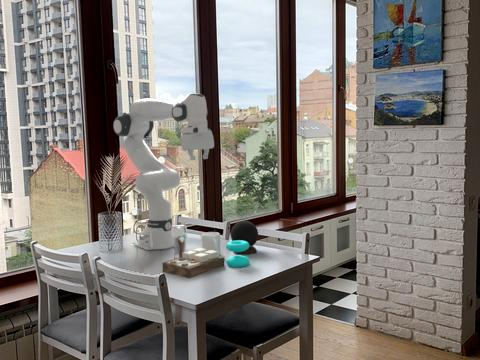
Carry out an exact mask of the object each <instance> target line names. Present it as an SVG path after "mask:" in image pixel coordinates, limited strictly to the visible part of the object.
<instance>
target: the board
mask: <svg viewBox="0 0 480 360" xmlns="http://www.w3.org/2000/svg"><path fill="white" fill-rule="evenodd" d="M161 263H162V273H166V274H171V275H174V276H179V277H182V278H187V279H192V278H195V277H198V276H199V275H203V274H206V273H209V272H211V271H214V270H218V269H220V268H223V267H225V265H226V264H225V256H222V255H219V256H218V258H214V259H209V260H208V261H205V262H202V263H200V262H197V261H194V259H192V260H186V259H184V258H182V257H179V258H176V259H174V258H173V259H170V260H166V261H163V262H161Z"/></svg>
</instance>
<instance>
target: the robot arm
mask: <svg viewBox="0 0 480 360" xmlns="http://www.w3.org/2000/svg"><path fill="white" fill-rule="evenodd" d="M208 113H209V111H208V107H207V100H206V97H205V95H204V94H201V93H199V92H198V93H194V92H191V93H187V95H186V97H185V98H183V99H182V100H180V101H177V102H175V103H170V102H166V101H162V100H159V99H154V98H141V99H138V100H134V101H133V102H132V103H131V105H130V111H129V112H128V113H127V112H123V113H122V114H121V115H118V116H117V117H115V119H114V120H113V124H112V126H113V127H112V128H113V131H114V133H115V134H116V135H117V136H119V137H126V138H125V139H123V140H124V141H123V147H124V150H125V152H126V154H127V155H128V158H129V159H130V160H131V162H132V164H133V165H134V167H135V168H136V170H137V171H139V172H141V173H140V174H138V175H136V177H135V182H134V185H135V188H136V190H137V191H138V192H139V193H141V194H142V195H143V197H144V199H145V201H146V203H147V204H146V205H147V209H148V219H146V220H145V223H147V225H146V227H145V228H144V229H143V230H142V231H141V232H140V233H138V234H139V236H138V241H137V242H135V243H134V246H135V247H138V248H142V249H144V250H146V251H150V250H151V251H152V250H166V249H171V248H174V246H173V241H172V226H173V218H172V210H171V203H170V201H169V200H167V199H166V198H165V197H164V195H163V192H167V191H172V190H173V189H176V188H178V187H179V186H180V183H181V177H180V174H179V172H178V171H177V170H175V169H172V168H171V167H168V166H167V165H165V164H164V163H163V162H161V161H160V160H159V159H158V158H157V157H156V156H155V154H154V153H153V152H152V150H151V149H150V148H149V146H148V144H146V142H145V140H144V139H147V138H149V137H150V134H151V133H152V132H153V129H154V127H155V123H154V122H157V121H158V122H159V121H162V120H168V119H173V120H174V121H175V122H177V123H187V125H186V126H184V127H182V128H181V129H180V134H181V137H180V143H181V144H180V145H181V149H182V151H187V154H188V156H189V161H196V156H195V155H194V152H195V151H197V150H199V151H200V150H203V154H202V159H203V160H206V159H207V160H208V158H209V153H210V149H214V148H215V140H214V135H213V131H212V130H211V129H210V128H208V119H207V117H208Z"/></svg>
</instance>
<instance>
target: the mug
mask: <svg viewBox="0 0 480 360" xmlns="http://www.w3.org/2000/svg"><path fill="white" fill-rule="evenodd" d="M220 235H221V233H219V232H217V231H216V232H215V231H208V232H204V233H202V234H201V242H202V243H201V248H203V249H206V251H209V250H214V251H218V256H221V238H220V237H221V236H220Z"/></svg>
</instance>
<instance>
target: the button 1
mask: <svg viewBox="0 0 480 360" xmlns="http://www.w3.org/2000/svg"><path fill="white" fill-rule="evenodd" d="M195 254H197V252H194V251H192V250H186V252H183V253H182V258H184V259H186V260H192V259H194V255H195Z"/></svg>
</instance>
